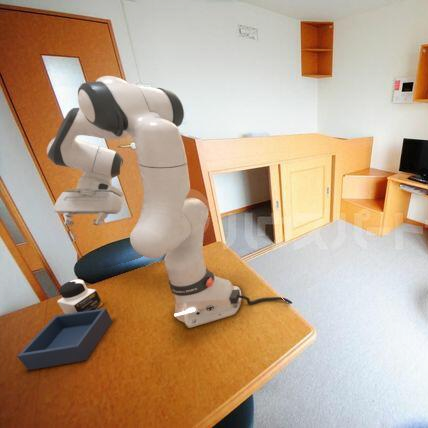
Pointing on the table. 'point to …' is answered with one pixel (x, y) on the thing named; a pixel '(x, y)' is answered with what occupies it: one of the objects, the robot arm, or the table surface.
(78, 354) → the bin
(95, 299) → the medicine bottle
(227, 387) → the table surface
